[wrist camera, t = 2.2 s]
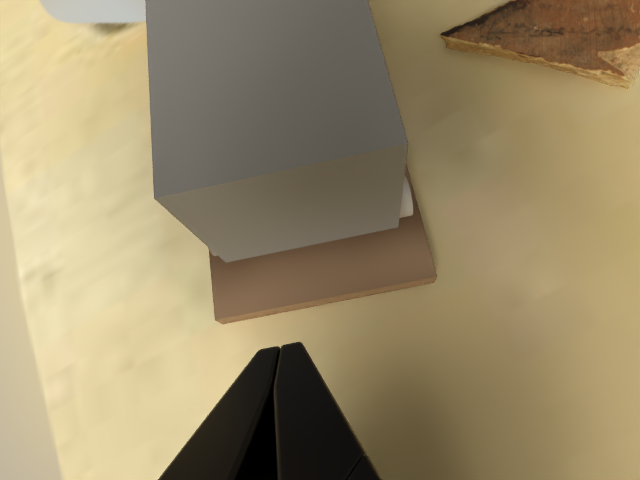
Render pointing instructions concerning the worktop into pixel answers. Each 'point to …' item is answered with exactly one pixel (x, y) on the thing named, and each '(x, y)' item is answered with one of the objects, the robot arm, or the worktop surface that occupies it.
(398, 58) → the worktop surface
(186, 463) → the robot arm
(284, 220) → the gray rectangular block
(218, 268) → the roller bed
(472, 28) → the shard
